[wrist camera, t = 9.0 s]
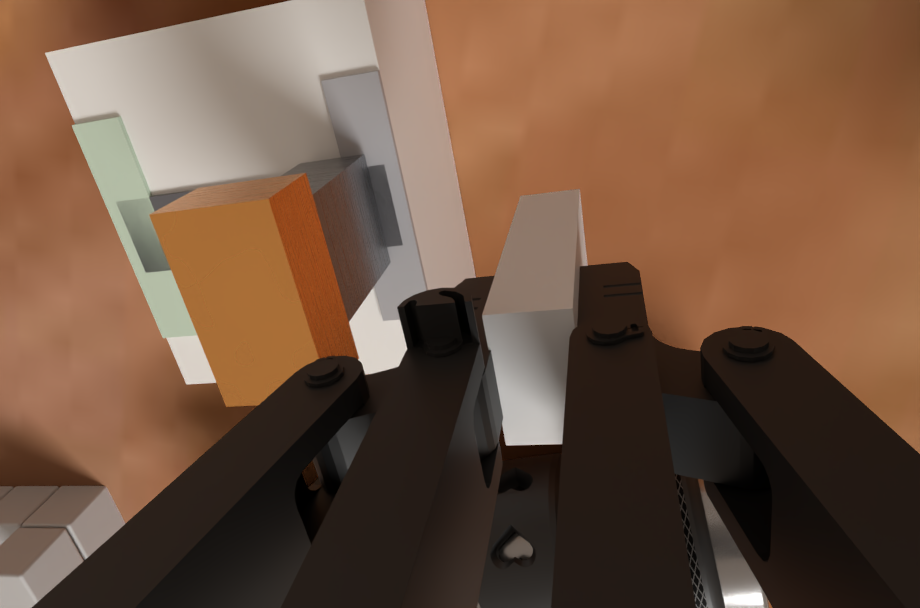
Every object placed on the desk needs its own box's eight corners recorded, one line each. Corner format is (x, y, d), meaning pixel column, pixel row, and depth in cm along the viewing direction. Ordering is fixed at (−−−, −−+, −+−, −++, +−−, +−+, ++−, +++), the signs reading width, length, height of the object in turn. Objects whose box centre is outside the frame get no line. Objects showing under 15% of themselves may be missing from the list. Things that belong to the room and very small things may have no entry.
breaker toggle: (369, 128, 21) (268, 199, 15) (405, 281, 24) (332, 401, 17) (282, 142, 22) (148, 214, 15) (326, 288, 24) (226, 406, 18)
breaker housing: (421, -18, 27) (358, -15, 20) (477, 284, 33) (444, 372, 26) (174, 34, 30) (40, 53, 22) (266, 303, 36) (183, 386, 28)
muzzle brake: (253, 450, 41) (157, 584, 32) (711, 376, 33) (756, 529, 24) (312, 557, 45) (241, 704, 36) (738, 514, 36) (786, 693, 27)
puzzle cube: (44, 596, 53) (-39, 689, 46) (-27, 484, 48) (-132, 570, 41) (168, 602, 50) (100, 702, 43) (107, 483, 45) (19, 576, 38)
